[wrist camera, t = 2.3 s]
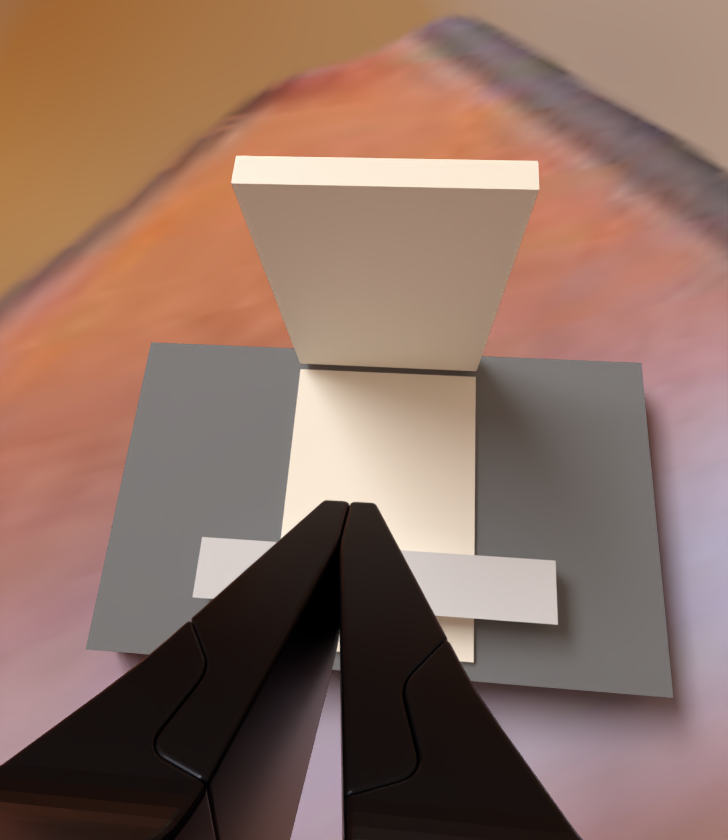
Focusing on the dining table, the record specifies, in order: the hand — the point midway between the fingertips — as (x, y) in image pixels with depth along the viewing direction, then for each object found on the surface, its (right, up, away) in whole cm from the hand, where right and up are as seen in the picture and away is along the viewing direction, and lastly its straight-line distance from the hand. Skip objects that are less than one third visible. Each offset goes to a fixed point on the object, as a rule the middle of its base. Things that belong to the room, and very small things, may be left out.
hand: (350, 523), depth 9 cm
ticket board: (+1, -2, +14) cm, 14 cm away
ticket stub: (+1, +4, +14) cm, 14 cm away
